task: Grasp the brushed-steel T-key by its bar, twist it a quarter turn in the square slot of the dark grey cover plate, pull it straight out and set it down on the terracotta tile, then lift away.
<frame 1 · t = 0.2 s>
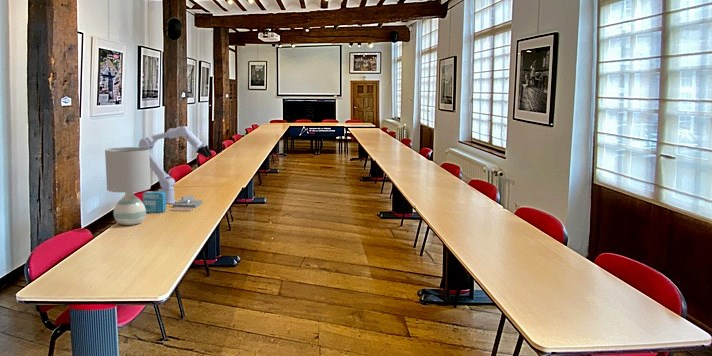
hand: (209, 156, 342), 31 cm above the table, tool tilted 45°, fingers open, 7 cm apart
lamp: (130, 223, 294), on the table
cover plate: (187, 205, 341), on the table
blue box: (154, 212, 322), on the table
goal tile: (182, 209, 329), on the table
t key: (187, 200, 341), in the cover plate
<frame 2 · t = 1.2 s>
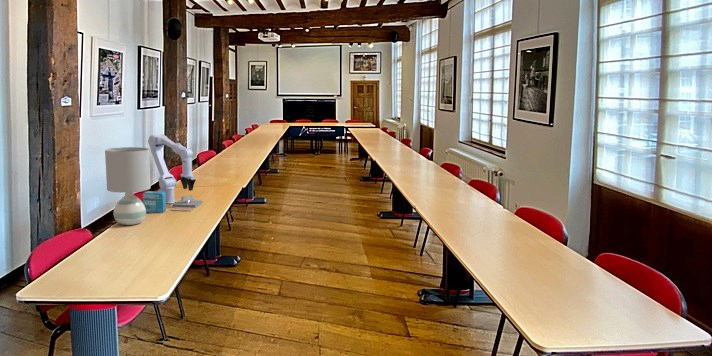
hand: (187, 189, 339), 10 cm above the table, tool pointing down, fingers open, 7 cm apart
nothing on the table moved.
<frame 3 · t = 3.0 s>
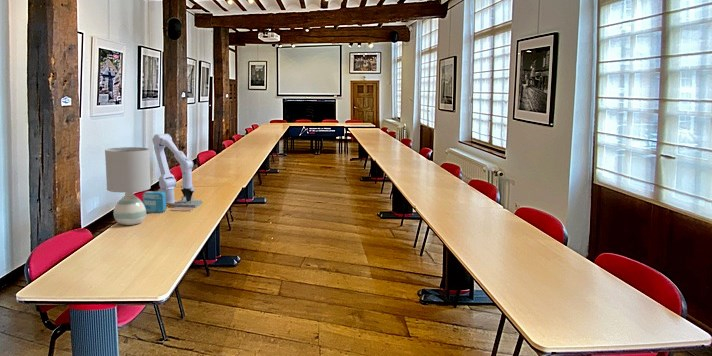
hand: (187, 200, 341), 3 cm above the table, tool pointing down, fingers closed on t key, 3 cm apart
t key: (187, 200, 341), in the cover plate, touching gripper
everything else where it was.
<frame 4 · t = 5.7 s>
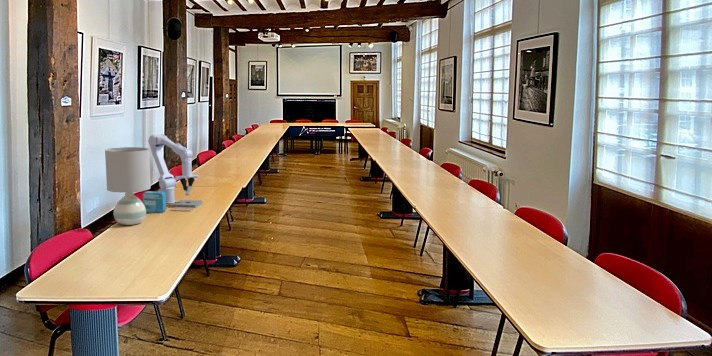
hand: (187, 190, 340), 10 cm above the table, tool pointing down, fingers closed on t key, 3 cm apart
t key: (187, 190, 340), point 10 cm above the table, touching gripper
everything else where it was.
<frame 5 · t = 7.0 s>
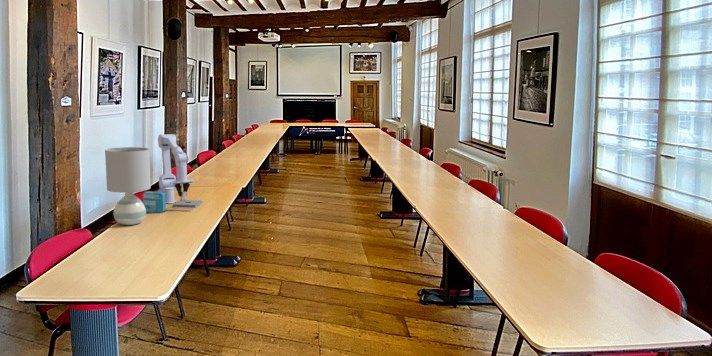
hand: (182, 195, 328), 9 cm above the table, tool pointing down, fingers closed on t key, 3 cm apart
t key: (182, 195, 328), point 9 cm above the table, touching gripper
everything else where it was.
when the fingers open (5 cm above the table, at t = 8.3 s): t key drops 1 cm, resting on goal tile.
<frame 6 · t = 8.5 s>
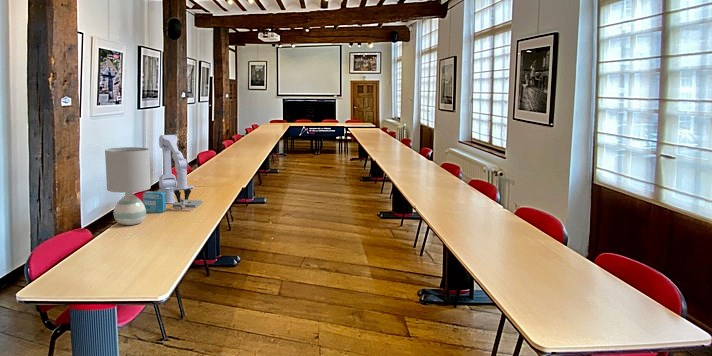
hand: (182, 201, 328), 5 cm above the table, tool pointing down, fingers open, 4 cm apart
t key: (182, 203, 329), on the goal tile, point 4 cm above the table
everything else where it was.
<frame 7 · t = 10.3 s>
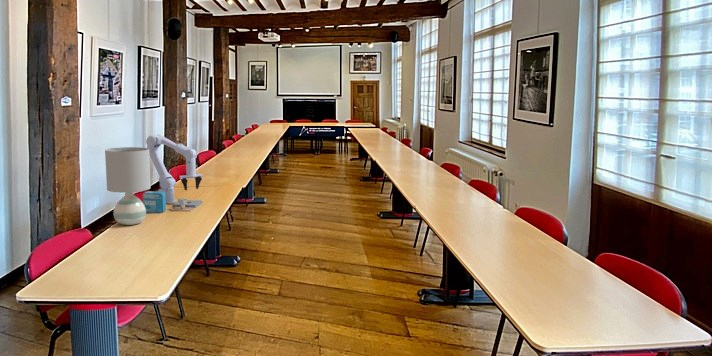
hand: (191, 189, 344), 10 cm above the table, tool pointing down, fingers open, 7 cm apart
nothing on the table moved.
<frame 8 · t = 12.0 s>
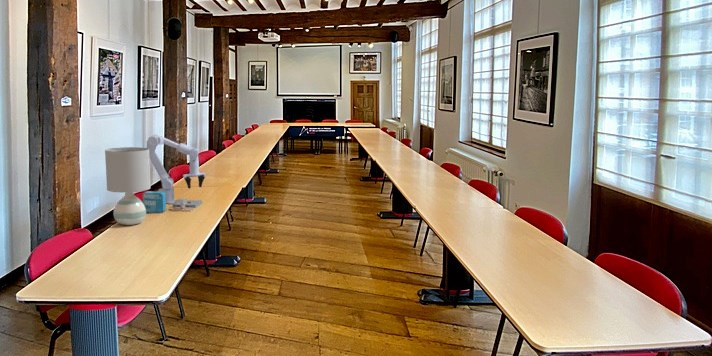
hand: (194, 187, 350), 9 cm above the table, tool pointing down, fingers open, 7 cm apart
nothing on the table moved.
at the end: t key inside the target area on the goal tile (0.0 cm from its centre), point 3.6 cm above the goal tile's base; the gripper is holding nothing; blue box moved 0.3 cm from its start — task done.
